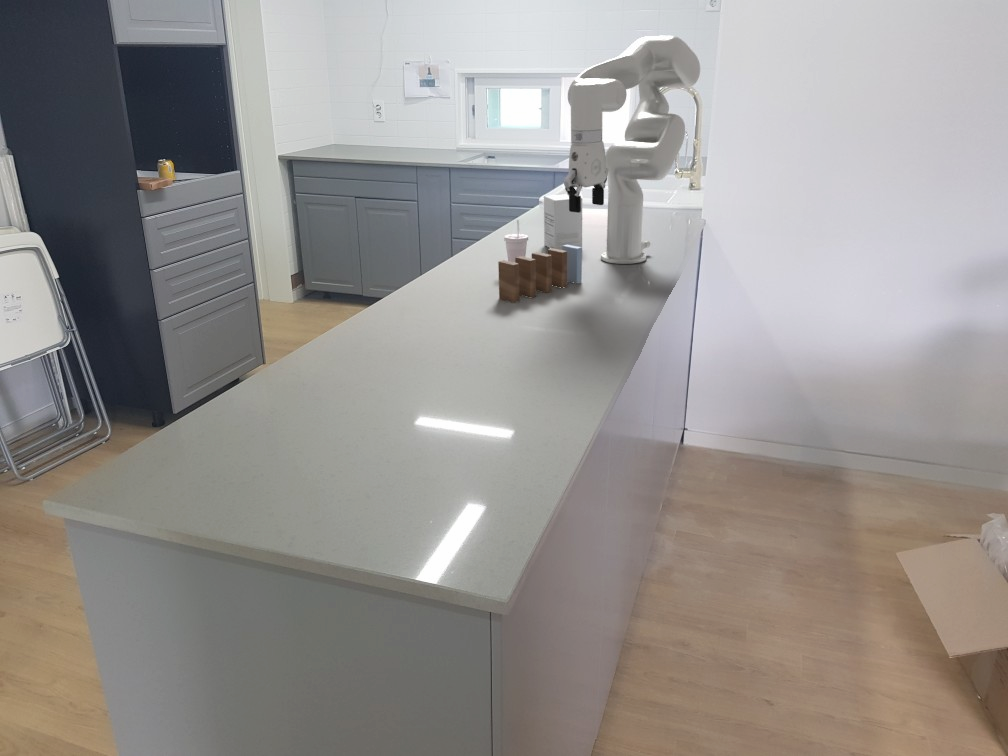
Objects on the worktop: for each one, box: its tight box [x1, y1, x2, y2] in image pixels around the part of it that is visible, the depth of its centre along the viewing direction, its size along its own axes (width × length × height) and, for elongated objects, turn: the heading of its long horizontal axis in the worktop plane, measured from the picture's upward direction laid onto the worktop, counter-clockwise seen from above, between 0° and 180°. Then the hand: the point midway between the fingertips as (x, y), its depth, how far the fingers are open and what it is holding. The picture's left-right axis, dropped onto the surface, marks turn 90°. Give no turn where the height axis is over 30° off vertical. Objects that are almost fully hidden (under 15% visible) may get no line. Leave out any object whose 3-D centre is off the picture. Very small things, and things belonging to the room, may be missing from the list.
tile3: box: [531, 251, 553, 294], centre depth 190 cm, size 2×5×9 cm, turn 43°
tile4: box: [515, 256, 537, 298], centre depth 186 cm, size 2×5×9 cm, turn 43°
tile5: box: [497, 259, 520, 304], centre depth 183 cm, size 2×5×9 cm, turn 43°
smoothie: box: [503, 219, 529, 263], centre depth 205 cm, size 6×6×14 cm
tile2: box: [546, 248, 568, 289], centre depth 193 cm, size 2×5×9 cm, turn 43°
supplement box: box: [543, 193, 583, 250], centre depth 232 cm, size 9×9×15 cm
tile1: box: [562, 245, 583, 284], centre depth 197 cm, size 2×5×9 cm, turn 43°
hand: (586, 208), depth 195 cm, fingers open, 9 cm apart
